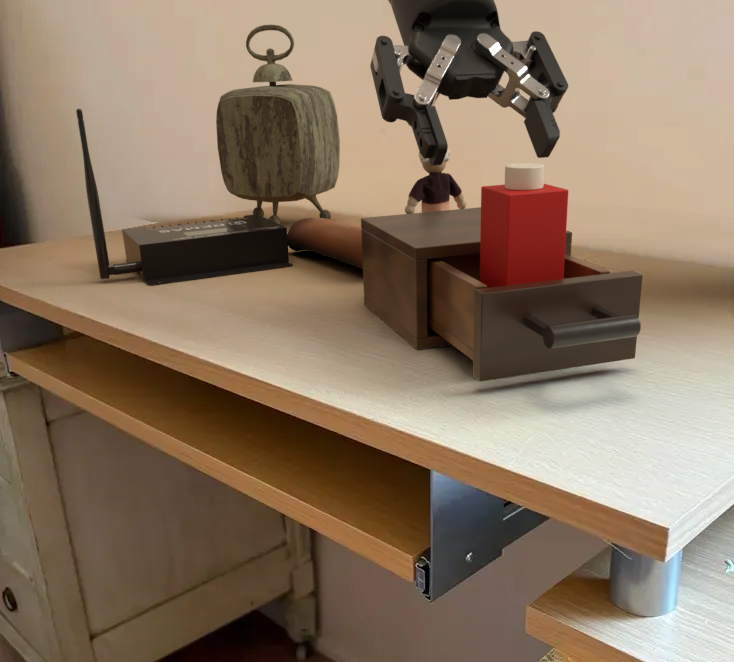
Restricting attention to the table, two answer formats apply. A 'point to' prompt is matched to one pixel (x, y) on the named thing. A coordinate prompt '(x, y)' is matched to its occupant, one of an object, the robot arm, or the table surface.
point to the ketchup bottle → (522, 228)
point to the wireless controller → (187, 243)
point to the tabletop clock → (278, 137)
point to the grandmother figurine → (434, 189)
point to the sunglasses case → (327, 239)
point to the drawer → (534, 317)
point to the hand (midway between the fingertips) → (495, 154)
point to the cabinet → (414, 264)
